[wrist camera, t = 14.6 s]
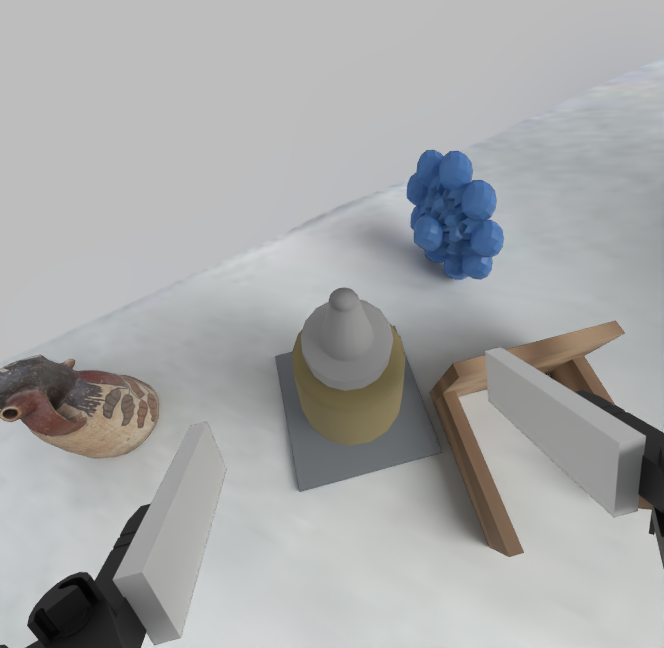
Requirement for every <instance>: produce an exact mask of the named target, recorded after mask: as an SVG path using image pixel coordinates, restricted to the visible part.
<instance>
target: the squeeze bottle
mask: <svg viewBox="0 0 664 648" xmlns="http://www.w3.org/2000/svg"><path fill="white" fill-rule="evenodd" d="M405 358H406V357H405V353H404V350H403V346H402V342H401V338H400V336H399V335H398V333H397V332H396V331H395V329H394V328H393V327H392V326H391V324H390V323H389V321H388V320H387V319H386V318H385V316H384V315H383V314H382V312H381V311H380V310H379V309H378V308H376V307H374V306H373V305H371V304H369V303H368V302H366V301H363V300H359V298H358V296H357V294H356V293H355V292H354V291H353V290H351V289H349V288H339V289H337V290H335V291H334V292H333V293H332V294H331V295H330V298H329V302H327V303H325V304H324V305H322V306H320V307H318V308H316V310H315V311H314V312H313V313H312V314H311V315H310V317H309V318H308V319H307V320H306V322H305V325H304V328H303V330H302V331H301V332H300V333H299V334H298V337H297V340H296V343H295V346H294V349H293V352H292V362H293V373H294V378H295V383H296V387H297V391H298V395H299V399H300V403H301V407H302V410H303V412H304V414H305V416H306V418H307V419H308V421H309V423H310V425H311V427H312V428H313V429H315V430H316V431H317V432H318V433H320V434H321V435H322V436H323V437H325V438H326V439H327V440H329V441H333V442H337V443H341V444H344V445H348V446H350V445H356V444H363V443H369V442H371V441H373V440H374V439H376V438H377V437H379V436H380V435H382V434H384V433H385V432H387V431H388V429H389V428H390V426H391V425H392V423H393V422H394V420H395V419H396V417H397V416H398V414H399V410H400V404H401V398H402V391H403V380H404V369H405Z"/></svg>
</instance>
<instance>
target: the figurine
mask: <svg viewBox="0 0 664 648" xmlns="http://www.w3.org/2000/svg"><path fill="white" fill-rule="evenodd" d="M74 364H75V360H73V359H68V360H66V361H65V362H63V363H61V364H58V363H55V362H52V361H50V360H48V359H46V358H45V357H44V356H42V355H36V356H32V357H29V358H25V359H22V360H18V361H16V362H13V363H11V364H9V365H7V366H4V367H3V368H1V369H0V409H1V411H0V418H1V419H3V420H4V421H8V422H13V421H16V420H18V419H21V420H22V421H23V423H24V424H26V425H27V426H28V428H29V429H30V430H31V431H32V433H33V434H35V435H36V436H37V437H39V438H40V439H41V440H43V441H45V442H47V443H49V444H51V445H54V446H56V447H59V448H61V449H63V450H66V451H69V452H73V453H76V454H79V455H83V456H86V457H90V458H110V457H117V456H120V455H123V454H126V453H129V452H131V451H132V450H134V449H135V448H136V447H138V446H139V445H140V444H141V443H142V442H143V441H144V440H145V439H146V438H147V437H148V436H149V435H150V433H151V431H152V430H153V428H154V426H155V424H156V422H157V420H158V413H159V400H158V397H157V394H156V392H155V391H154V390H153V389H152V388H151V387H150V386H149V385H147V384H145V383H143V382H142V381H140V380H138V379H135V378H133V377H130V376H126V375H116V374H112V373H108V372H104V371H98V370H86V371H74V370H73V366H74Z"/></svg>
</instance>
